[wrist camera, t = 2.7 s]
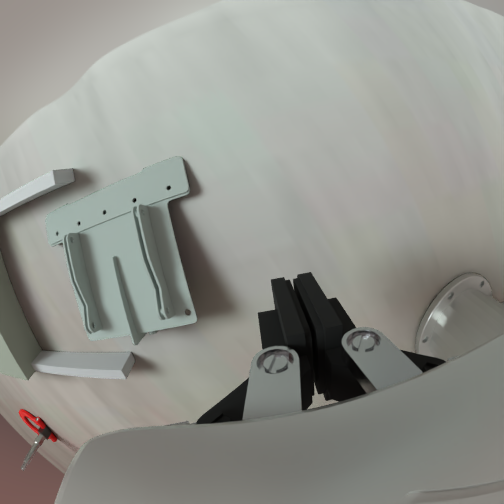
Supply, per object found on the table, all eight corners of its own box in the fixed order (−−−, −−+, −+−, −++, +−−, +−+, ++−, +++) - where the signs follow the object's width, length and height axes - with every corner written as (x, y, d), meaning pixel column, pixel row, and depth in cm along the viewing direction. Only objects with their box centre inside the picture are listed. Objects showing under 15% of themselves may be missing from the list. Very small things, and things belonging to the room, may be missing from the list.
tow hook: (35, 429, 34) (60, 440, 33) (13, 466, 22) (38, 482, 21) (15, 404, 31) (38, 414, 31) (-12, 441, 19) (10, 457, 18)
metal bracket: (222, 335, 18) (67, 357, 19) (233, 313, 23) (100, 339, 24) (171, 135, 17) (32, 203, 18) (192, 158, 23) (68, 209, 24)
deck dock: (72, 168, 19) (37, 172, 14) (135, 360, 25) (119, 392, 20) (-33, 226, 20) (-57, 236, 15) (16, 354, 26) (-1, 373, 21)
